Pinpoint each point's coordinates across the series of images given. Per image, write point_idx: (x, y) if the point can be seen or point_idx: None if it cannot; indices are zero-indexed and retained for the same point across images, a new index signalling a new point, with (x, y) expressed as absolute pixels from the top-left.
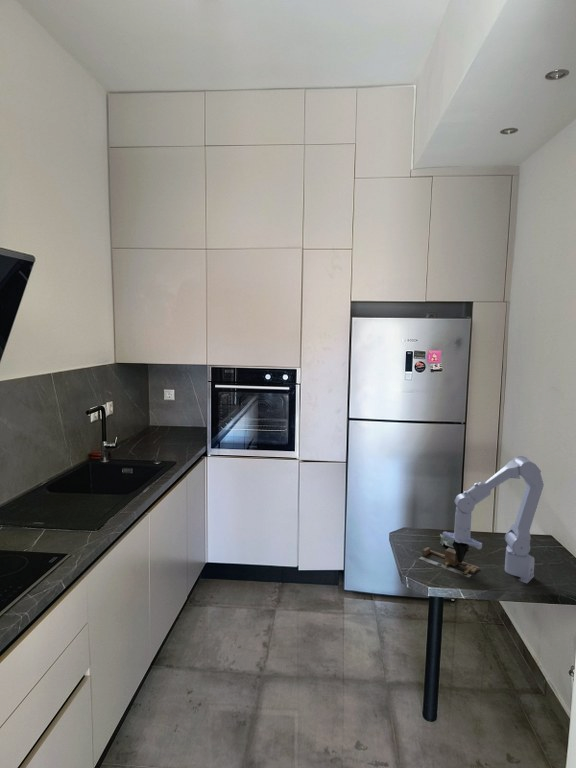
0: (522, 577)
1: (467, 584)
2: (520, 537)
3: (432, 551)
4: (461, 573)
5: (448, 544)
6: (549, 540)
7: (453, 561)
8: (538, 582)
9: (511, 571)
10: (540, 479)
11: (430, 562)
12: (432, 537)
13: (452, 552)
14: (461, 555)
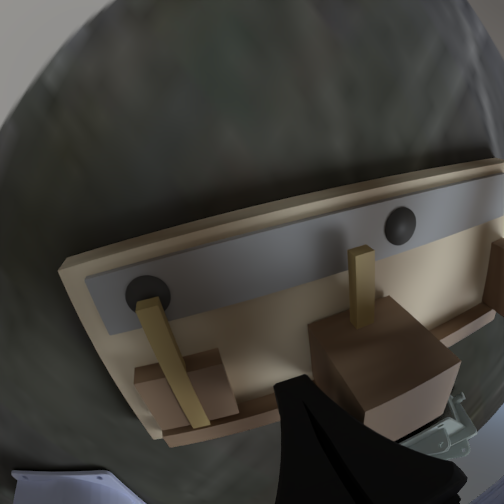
0: (31, 489)
1: (56, 206)
2: None
3: (483, 319)
4: (173, 276)
5: (436, 432)
6: None
7: (336, 345)
8: None
9: (62, 500)
10: None
11: (452, 193)
12: (480, 404)
13: (396, 400)
14: (289, 444)
